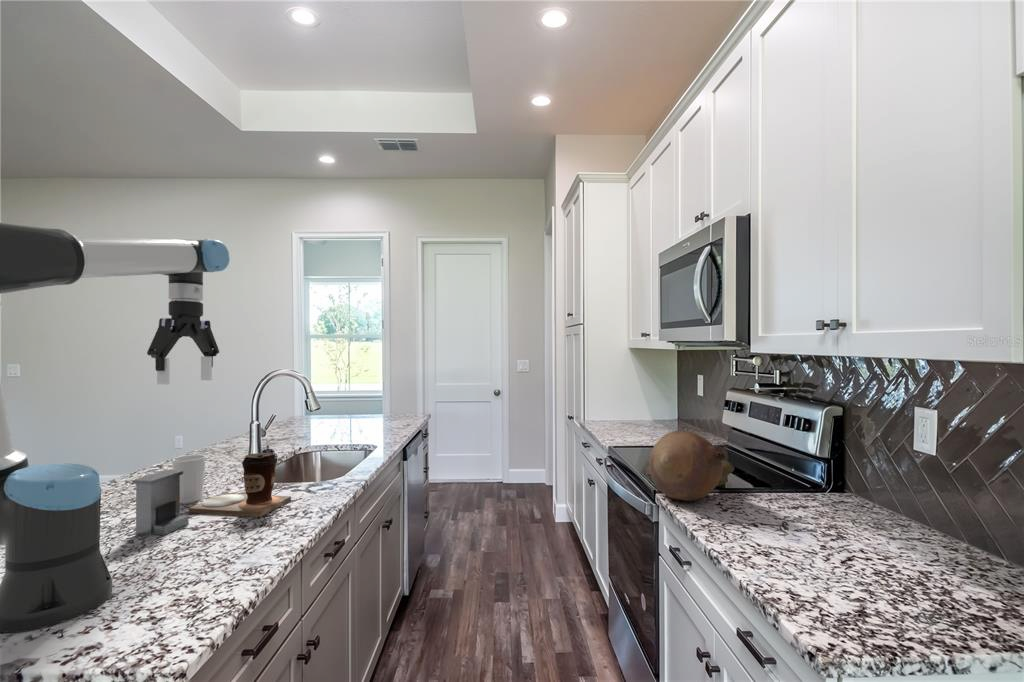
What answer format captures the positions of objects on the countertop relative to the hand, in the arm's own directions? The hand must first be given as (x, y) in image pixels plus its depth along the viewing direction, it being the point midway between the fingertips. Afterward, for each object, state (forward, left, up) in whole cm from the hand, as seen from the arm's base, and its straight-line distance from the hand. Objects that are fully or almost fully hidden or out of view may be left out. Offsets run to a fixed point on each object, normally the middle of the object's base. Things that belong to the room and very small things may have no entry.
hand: (185, 382), depth 125 cm
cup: (+11, +9, -35) cm, 38 cm away
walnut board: (+8, -10, -35) cm, 37 cm away
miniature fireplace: (-9, -2, -35) cm, 36 cm away
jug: (+36, -136, -35) cm, 145 cm away
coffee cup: (+8, -16, -33) cm, 38 cm away
